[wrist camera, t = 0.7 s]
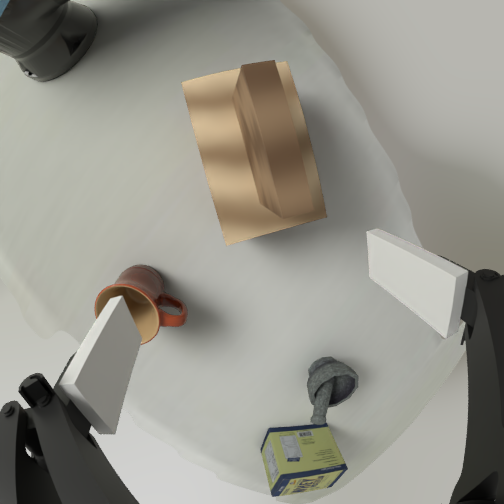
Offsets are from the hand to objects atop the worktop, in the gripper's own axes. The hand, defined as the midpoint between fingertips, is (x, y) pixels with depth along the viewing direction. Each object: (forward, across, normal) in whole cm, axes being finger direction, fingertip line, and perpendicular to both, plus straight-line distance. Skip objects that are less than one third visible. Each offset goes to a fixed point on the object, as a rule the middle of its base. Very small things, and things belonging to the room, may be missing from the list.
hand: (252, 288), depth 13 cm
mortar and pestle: (+26, +10, -35) cm, 45 cm away
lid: (+19, +5, +7) cm, 21 cm away
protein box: (+26, +2, -57) cm, 63 cm away
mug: (+27, -14, -9) cm, 31 cm away
